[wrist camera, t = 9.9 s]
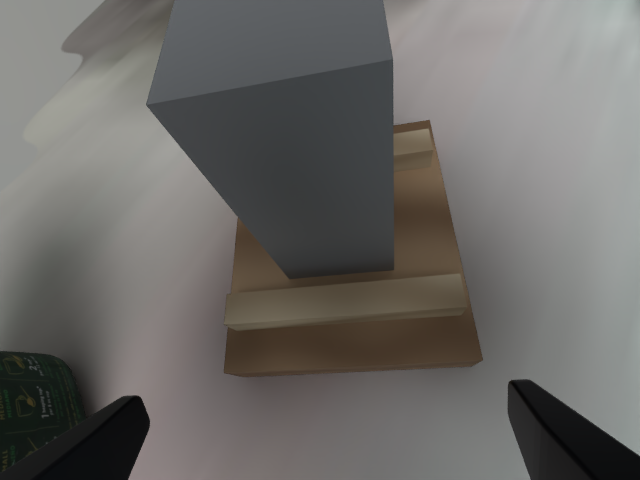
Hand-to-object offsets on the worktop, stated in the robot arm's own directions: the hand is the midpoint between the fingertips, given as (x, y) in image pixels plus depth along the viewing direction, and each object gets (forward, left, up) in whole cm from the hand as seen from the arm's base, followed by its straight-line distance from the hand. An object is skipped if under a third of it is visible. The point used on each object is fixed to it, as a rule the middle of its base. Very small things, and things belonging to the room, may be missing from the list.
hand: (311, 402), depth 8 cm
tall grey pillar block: (+9, -1, -8) cm, 12 cm away
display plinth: (+9, -1, -10) cm, 13 cm away
